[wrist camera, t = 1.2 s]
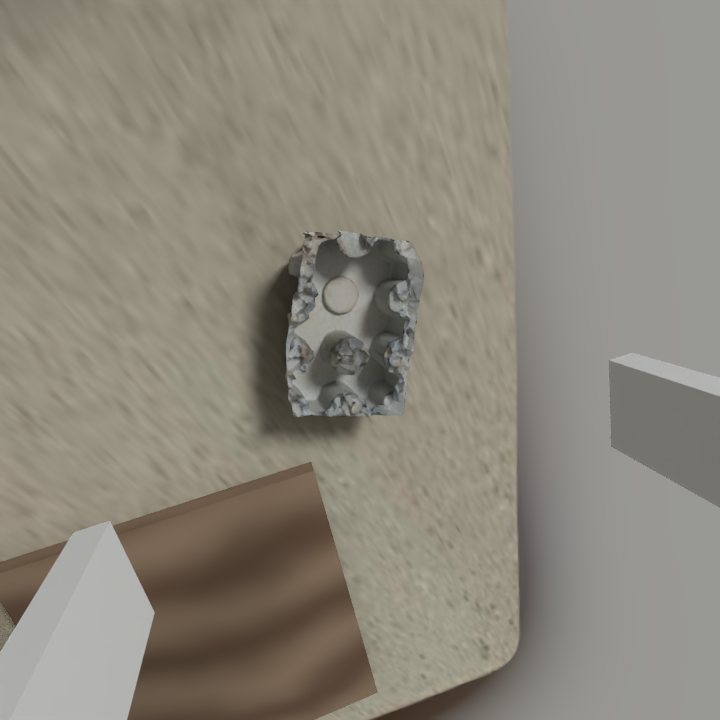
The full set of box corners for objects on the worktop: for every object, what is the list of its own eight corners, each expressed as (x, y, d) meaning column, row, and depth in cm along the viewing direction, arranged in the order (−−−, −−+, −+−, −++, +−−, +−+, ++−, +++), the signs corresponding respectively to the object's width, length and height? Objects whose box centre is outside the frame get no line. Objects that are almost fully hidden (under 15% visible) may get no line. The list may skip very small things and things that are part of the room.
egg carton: (287, 225, 24) (301, 220, 21) (405, 243, 27) (437, 241, 23) (273, 402, 26) (284, 426, 23) (384, 402, 29) (410, 424, 25)
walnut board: (-3, 563, 26) (-15, 578, 25) (311, 461, 29) (313, 470, 28) (132, 781, 33) (128, 800, 32) (373, 678, 36) (377, 692, 35)
